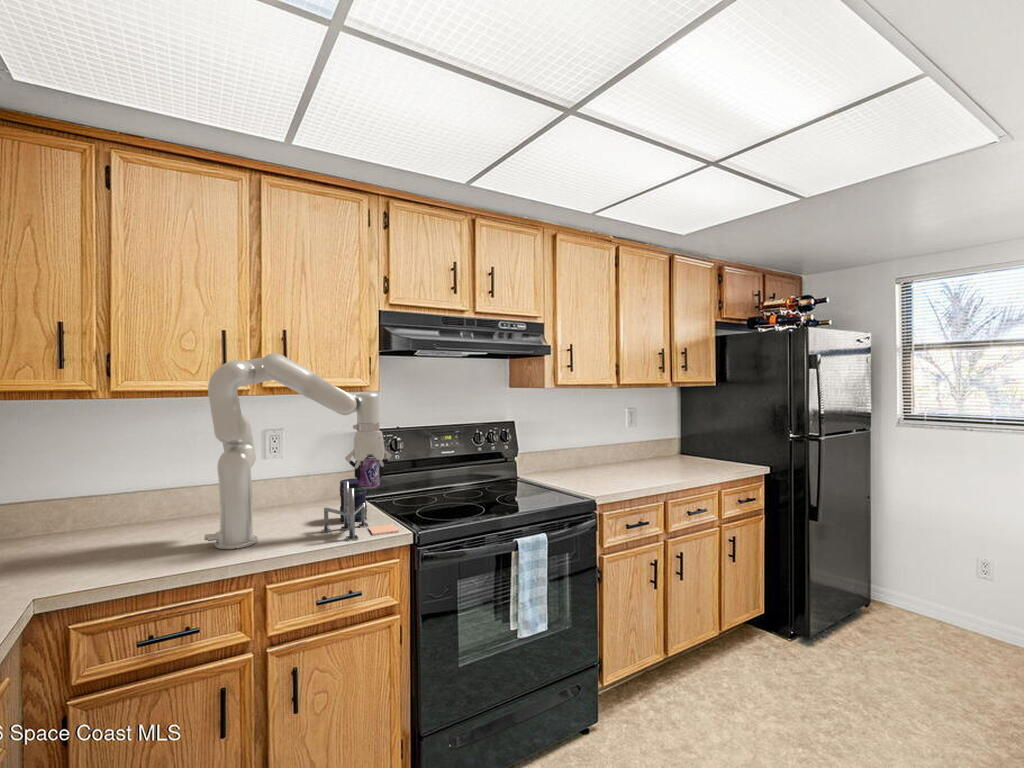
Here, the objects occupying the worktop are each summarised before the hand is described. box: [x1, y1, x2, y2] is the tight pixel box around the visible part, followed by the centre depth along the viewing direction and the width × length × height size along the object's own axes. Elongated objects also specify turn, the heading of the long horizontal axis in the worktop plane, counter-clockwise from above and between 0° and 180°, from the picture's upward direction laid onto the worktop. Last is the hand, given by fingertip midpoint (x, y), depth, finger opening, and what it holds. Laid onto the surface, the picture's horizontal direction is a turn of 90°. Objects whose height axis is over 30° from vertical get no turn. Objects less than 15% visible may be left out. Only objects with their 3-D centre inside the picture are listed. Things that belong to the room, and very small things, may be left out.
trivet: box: [367, 523, 400, 536], centre depth 189 cm, size 9×9×1 cm
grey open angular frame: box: [321, 481, 369, 542], centre depth 185 cm, size 16×17×17 cm
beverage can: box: [359, 454, 381, 490], centre depth 187 cm, size 7×7×12 cm
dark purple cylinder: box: [339, 477, 368, 523], centre depth 203 cm, size 10×10×15 cm
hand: (369, 478), depth 187 cm, fingers closed on beverage can, 6 cm apart
